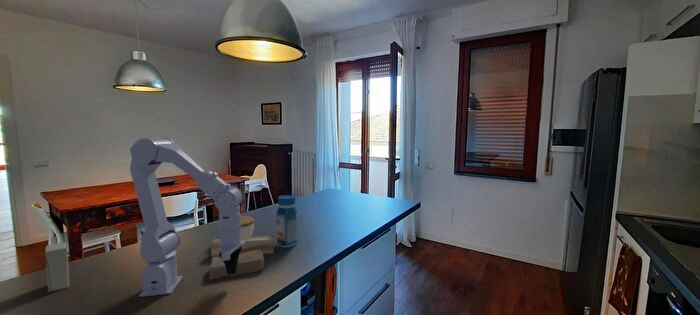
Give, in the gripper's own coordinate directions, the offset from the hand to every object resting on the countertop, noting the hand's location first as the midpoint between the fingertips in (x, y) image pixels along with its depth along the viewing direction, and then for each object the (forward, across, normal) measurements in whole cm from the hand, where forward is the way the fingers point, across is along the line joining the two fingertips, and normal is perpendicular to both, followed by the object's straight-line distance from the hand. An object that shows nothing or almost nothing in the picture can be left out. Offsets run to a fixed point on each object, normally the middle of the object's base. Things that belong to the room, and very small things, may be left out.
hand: (231, 273), depth 83 cm
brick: (+4, +10, 0) cm, 11 cm away
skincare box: (+4, +10, +50) cm, 51 cm away
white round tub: (+4, +36, +4) cm, 36 cm away
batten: (+4, +23, 0) cm, 23 cm away
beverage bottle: (+4, +29, -16) cm, 33 cm away
